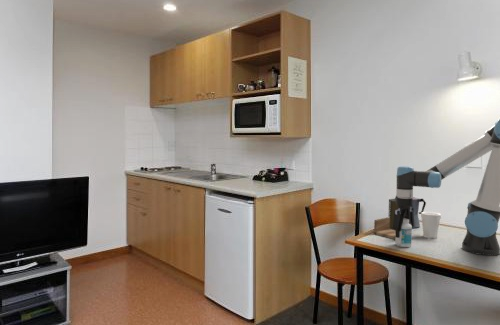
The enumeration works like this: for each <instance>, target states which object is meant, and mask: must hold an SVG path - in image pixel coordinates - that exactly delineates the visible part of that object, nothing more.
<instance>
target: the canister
mask: <svg viewBox="0 0 500 325" xmlns="http://www.w3.org/2000/svg"><path fill="white" fill-rule="evenodd" d="M396 198H397V196H396V195H395V197H394V198H390V199H388V218H390V229H392V230H393V221H394V210H398V205H397V204H396Z"/></svg>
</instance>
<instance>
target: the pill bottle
mask: <svg viewBox="0 0 500 325" xmlns="http://www.w3.org/2000/svg"><path fill="white" fill-rule="evenodd" d="M401 231H402V239H401V245H400V244H397V243H396V235H395V239H394V240H395V241H394V243H395V246H397V247H400V248H410V247H411V246H412V240H413V239H412V234H413V233H412V232H413V229H412V225H411V224H409V219H406V218H404V219H403V223H402V227H401Z"/></svg>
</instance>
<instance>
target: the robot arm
mask: <svg viewBox="0 0 500 325" xmlns="http://www.w3.org/2000/svg"><path fill="white" fill-rule="evenodd" d="M488 153H490V154H489V158H488V161H487V164H486V167H485V170H484V173H483V177H482V180H481V183H480V187H479V190H478V193H477V196H476V199H475V200H472V201H470V202H468V203H467V208H466V209H467V215H466V217H465V219H464V225H465V228H466V234H465V236H464V238H463V240H462V243H461V248H462V249H463V251H467V252H469V253H473V254H476V255H482V256H483V255H484V256H497V255H500V244H499V241H498V238H497V231H498V229H499V222H500V117H499V118H498V120H497V121H496V122H495V123H494V125H493V126H491V128H489V129H488V130H486V131H485V132H484V135H481V137H479V138H477V139H475V140H474V141H472V142H471V143H470V144H467V145H466V146H464V147H463V148H461V149H460V150H458V151H455V153H453V154H452V155H449V156H447V158H445V159H443V160H442V161H440V162H439V163H436V164H435V165H434V166H432V167H430V168H429V169H427V170H425V171H424V170H423V171H418V170H415V169H414V167H413V166H408V165H407V166H398V167H397V168H396V192H395V193H396V195H395V197H396V196H397V198H396V204H397V205H398V210H394V221H393V230H395V231H396V243H397V244H400V245H401V239H402V231H401V227H402V223H403V219H404V218H406V219H409V224H411V225H412V230H413V229H414V208H411V207H410V206H412V205H413V199H412V197H414V187H421V188H422V187H423V188H431V189H434V188H435V189H439V188H441V186H442V180H444V179H445V178H447V177H449V176H451V175H452V174H454V173H455V172H458V171H459V170H460V169H462V168H464V167H466V166H467V165H470V164H471V163H473V162H474V161H476V160H477V159H479V158H481V157H483V156H485V155H486V154H488Z"/></svg>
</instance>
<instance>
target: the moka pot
mask: <svg viewBox="0 0 500 325" xmlns="http://www.w3.org/2000/svg"><path fill="white" fill-rule="evenodd" d="M412 199H413V205H412V206H410V207H411V208H414V228H416V229H417V228H420V227H421V224H420V218H419V215H421V213H422V212H425V211H424V210H425V208H426V206H427V202H426V201H425V200H424V198H418V197H414V196H413V197H412ZM420 203H423V204H422V208H421V211H420V212H419V210H420V209H419V208H420ZM414 228H413V229H414Z"/></svg>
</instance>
